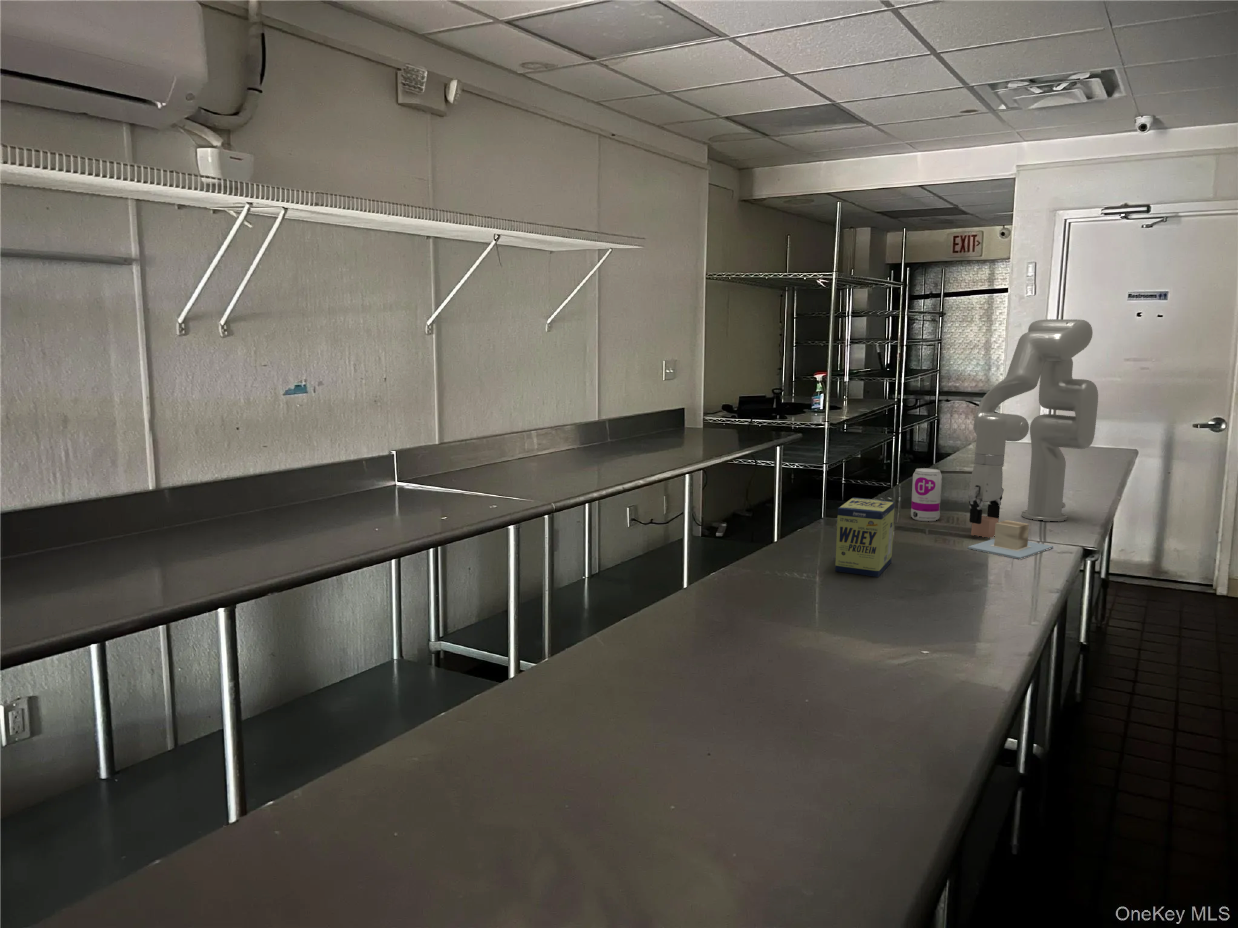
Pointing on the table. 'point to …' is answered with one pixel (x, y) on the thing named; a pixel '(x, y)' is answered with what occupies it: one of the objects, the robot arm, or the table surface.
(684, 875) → the table surface
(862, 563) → the protein box
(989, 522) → the top block
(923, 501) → the supplement can
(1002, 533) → the base block
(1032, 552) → the board
